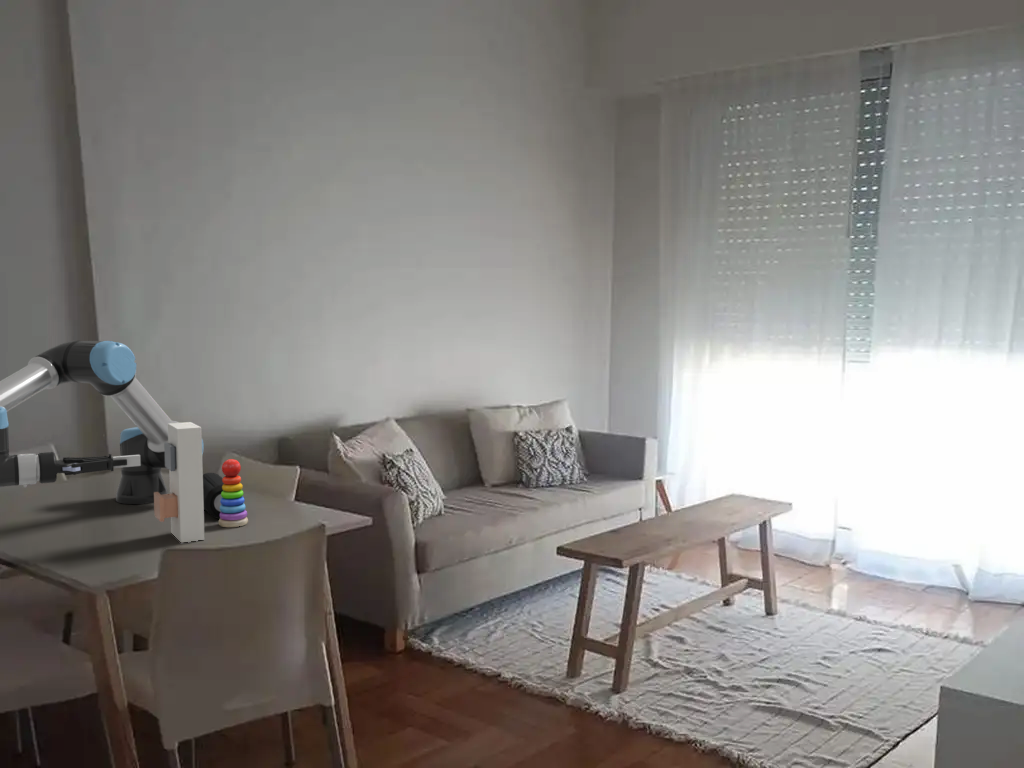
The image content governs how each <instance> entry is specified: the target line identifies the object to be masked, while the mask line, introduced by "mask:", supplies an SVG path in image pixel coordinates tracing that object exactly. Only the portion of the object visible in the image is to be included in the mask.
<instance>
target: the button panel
mask: <svg viewBox="0 0 1024 768" xmlns="http://www.w3.org/2000/svg"><path fill="white" fill-rule="evenodd" d="M202 430H203V429H202V426H200V425H198V424H196V423H194V422H192V421H186V422H183V421H182V422H179V423H168V443H170V444H171V445H174V446H175V447H176V464H177V468H175V471H170V470H169V469H168V471H169V472H168V473H169V479H168V481H169V494H173V493H174V494H175V495H177V498H178V517H170V533H172V534H173V535H174V536H175V537H176V538H177V539H178V540H179V541H180V542H188V543H192V542H191V541H196V542H199V541H198V540H204V541H205V511H204V510H205V508H204V501H203V474H204V472H203V471H204V470H203V469H204V467H203V466H204V465H203V455H202V439H203V435H202V432H203V431H202ZM172 534H171V535H172ZM173 535H172V536H173ZM174 536H173V537H174ZM175 537H174V538H175ZM176 538H175V539H176ZM177 539H176V540H177ZM178 540H177V541H178ZM179 541H178V542H179ZM180 542H179V543H180Z"/></svg>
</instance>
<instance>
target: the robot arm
mask: <svg viewBox="0 0 1024 768" xmlns="http://www.w3.org/2000/svg"><path fill="white" fill-rule="evenodd" d="M135 361H136V357H135V354H134V352H133V351H132V350H131V348H129V347H128V345H126V344H124V343H121V342H119V341H117V342H116V341H112V340H70V341H66V342H62V343H59V344H57V345H55V346H52V347H51V348H49V349H46V350H45V351H42V352H41V353H39V354H36V355H35V356H34V357H32V358H30V359H29V360H28V362H27V365H25V366H24V367H22V368H21V369H18V370H17V371H15V372H13V373H12V374H10V375H9V376H7V377H5V378H3V379H1V380H0V488H6V487H13V486H15V487H16V486H22V487H23V488H27V487H28V485H36V484H37V483H38V482H39V483H40V484H50V483H55V482H57V479H58V476H57V475H58V474H64V476H71V475H74V476H76V475H80V474H86V473H95V472H102V471H103V472H104V471H111V472H114V469H118V468H119V469H121V470H120V471H121V473H120V474H121V475H120V480H119V483H118V485H117V486H118V487H117V489H116V492H115V493H116V494H115V501H116V502H117V503H119V504H125V505H143V504H144V503H145V504H152V503H153V504H154V492H159V493H160V494H161V495H163V494H169V493H168V488H167V485H166V483H165V480H164V478H163V475H162V469H167V468H166V467H165V448H164V443H168V423H180V422H179V421H177V420H172V419H171V418H170V416H168V414H167V413H166V412H165V411H164V409H162V407H161V406H160V405H159V403H157V401H156V400H155V399H154V398H153V397H152V395H151V394H150V393H149V392H148V390H147V389H146V388H145V387H144V385H142V384H141V382H140V381H139V379H137V362H135ZM69 383H70V384H72V383H78V384H90V385H91V386H92V387H93V388H94V389H95V390H96V391H97V392H98V394H100V395H101V396H103V397H110V398H111V399H112V401H113V402H114V403H115V404H116V405H117V406H118V408H120V409H121V410H122V412H124V414H125V415H126V416H127V417H128V418H129V419H130V421H132V423H133V424H134V425H135V427H130V428H129V427H128V428H125V429H123V430H121V432H120V437H119V438H120V439H119V450H120V451H119V452H120V455H118V456H112V453H108V455H103V456H102V455H101V456H100V455H99V456H79V457H78V456H77V457H76V456H75V457H72V456H66V457H65V456H64V457H62V459H58V460H57V457H56V453H55V452H54V451H50V452H49V451H48V452H46V451H45V452H39V453H38V454H37V455H36V453H34V452H31V453H19V454H10V444H9V443H10V441H9V434H10V433H9V426H10V425H9V419H8V412H9V411H11V410H12V409H14V408H15V407H17V406H19V405H20V404H23V403H24V402H25V401H27V400H29V399H30V398H32V397H33V396H35V395H37V394H38V393H40V392H42V391H44V390H51V389H54V388H56V387H57V386H60V385H62V384H69ZM204 446H205V445H204V439H203V438H202V456H203V453H204Z"/></svg>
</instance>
